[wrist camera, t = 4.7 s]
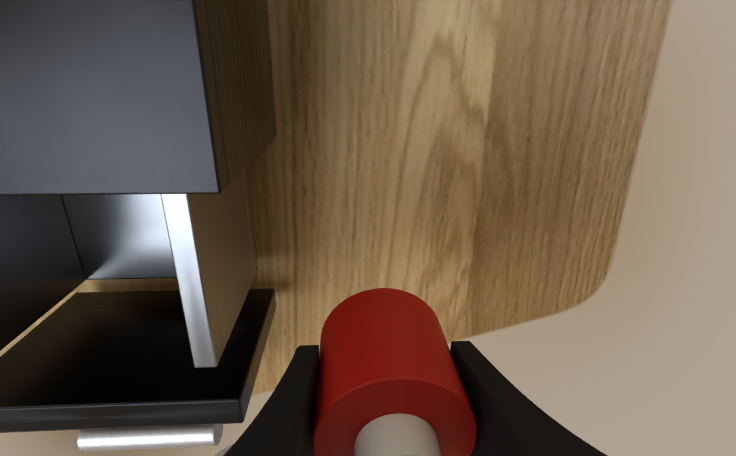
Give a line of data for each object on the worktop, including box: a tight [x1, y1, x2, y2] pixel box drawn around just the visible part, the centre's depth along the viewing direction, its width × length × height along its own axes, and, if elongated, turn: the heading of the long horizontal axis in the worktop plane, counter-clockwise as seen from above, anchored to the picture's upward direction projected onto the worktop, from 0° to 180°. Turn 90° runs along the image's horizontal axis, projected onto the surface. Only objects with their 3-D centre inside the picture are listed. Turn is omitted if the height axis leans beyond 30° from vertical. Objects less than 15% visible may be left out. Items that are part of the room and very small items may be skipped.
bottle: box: [312, 288, 477, 456], centre depth 12 cm, size 4×4×6 cm
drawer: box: [0, 167, 276, 451], centre depth 16 cm, size 17×10×8 cm, turn 179°
